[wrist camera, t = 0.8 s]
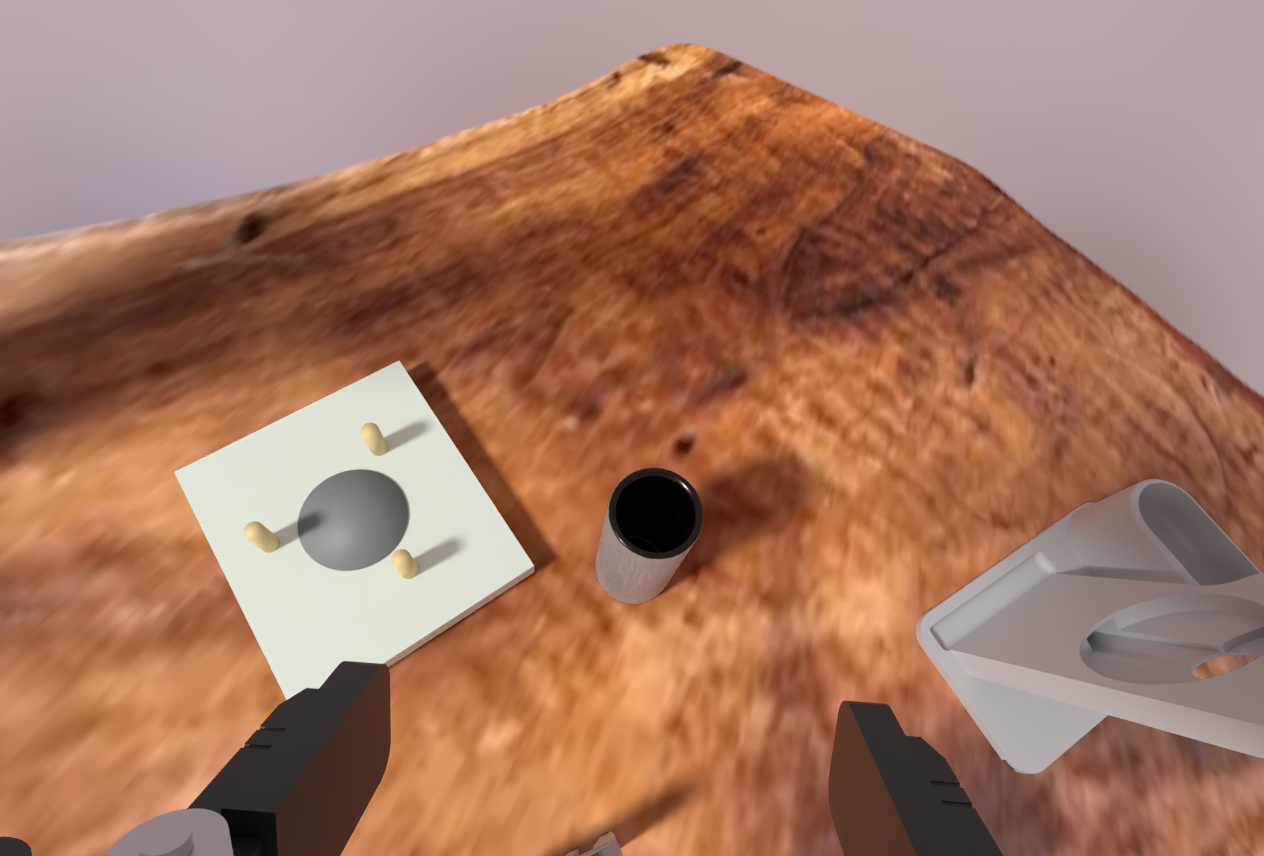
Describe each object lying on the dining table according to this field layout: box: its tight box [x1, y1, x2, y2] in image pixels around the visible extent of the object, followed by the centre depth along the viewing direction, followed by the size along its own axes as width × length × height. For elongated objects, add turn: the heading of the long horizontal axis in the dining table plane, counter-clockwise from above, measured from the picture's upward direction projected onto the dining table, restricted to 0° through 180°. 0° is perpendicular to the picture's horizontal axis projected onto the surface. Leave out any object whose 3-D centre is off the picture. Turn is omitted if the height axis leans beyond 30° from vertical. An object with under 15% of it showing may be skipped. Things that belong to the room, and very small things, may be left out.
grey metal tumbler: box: [595, 468, 703, 604], centre depth 37 cm, size 4×4×10 cm
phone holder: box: [916, 479, 1264, 774], centre depth 35 cm, size 17×10×18 cm, turn 121°
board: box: [174, 361, 535, 700], centre depth 39 cm, size 16×14×4 cm
